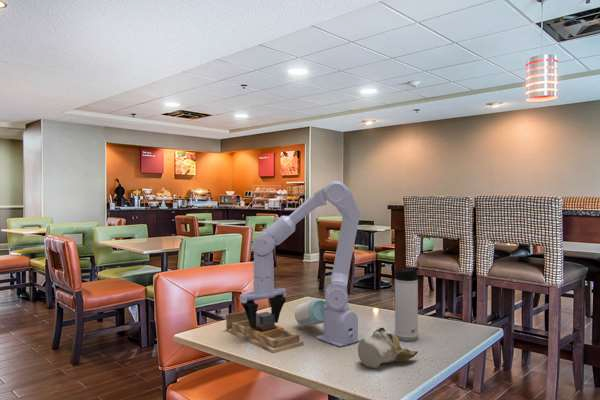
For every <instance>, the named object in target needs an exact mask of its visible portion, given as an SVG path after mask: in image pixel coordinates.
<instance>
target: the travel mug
mask: <svg viewBox="0 0 600 400" xmlns="http://www.w3.org/2000/svg"><path fill="white" fill-rule="evenodd" d="M418 271H420V267H418V266H416V267H403V268H401V267H400V268H397V269H395V271H394V275H395V276H394V334H395V335H396V336H397V337H398V339H399V341H401V342H408V341H410V342H416V341H417V340H418V339H419V333H418V332H419V319H418V318H419V315H418V314H419V313H418V312H419V308H418V307H419V305H418V304H419V297H418V296H419V295H418V294H419V292H418V291H419V287H418V286H419V285H418V284H419V283H418V281H419V280H418Z"/></svg>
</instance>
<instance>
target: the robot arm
mask: <svg viewBox="0 0 600 400" xmlns="http://www.w3.org/2000/svg"><path fill="white" fill-rule="evenodd" d="M327 202H328V203H330V204H331V205H332V206H334V207H335V208H336V209H337V211H338V212H339V213H340V215H341V217H342V218H341V219H342V220H341V223H340V224H341V225H340V229H339V236H338V239H337V240H338V241H337V246H336V252H335V257H334V263H333V267H332V270H331V271H332V272H331V275H330V279H329V282H328V284H327V285H326V287H325V290H324V291H325V292H324V293H325V295H324V301H325V302H326V304H324V323H323V334H322V335H321V334H320V335H317V337H316V338H317V339H319V340H321V341H323V342H326V343H330V344H332V345H334V346H337V347H343V346H348V345H350V344H353V343H357V342H360V340H361V338H359V319H358V316H357V313H355V312H354V311H352V310H351V308H350V304H349V295H348V281H349V273H350V268H351V264H352V258H353V253H354V247H355V241H356V237H357V233H358V232H357V231H358V226H359V223H360V215H361V214H360V213H361V212H360V210H359V208H358V205H357V202H356V200H355V198H354V196H353V193H352V191H351V190H350V189H349V188H348V186H347V185H346V184H345V183H343V182H342V181H339V180H337V181H336V180H335V181H331V182H329V183H328V184H327V185H326V187H322V188H321V189H319V190H318V191H316V192H314V193H313V194H311V196H309V197H308V198H307V199H306V200H304V202H303V203H302V204H300V205H299V206H297V208H296V209H294V211H292V213H290V214H289V215H281V216H280V217H279V216H276V217H275V218H274V219H273V221H274V222H272V223H271V224H270V225H269V226H268V227H267V228H263V229H262V230H261V232H262V234H257V235H256V236H255V237H254V239H253V241H252V243H251V248H252V250H253V291H251V292H248V293H244V294H240V295H239V303H241V306H242V307H243V309H244V310H243V311H245V312H246V314H247V317H248V321H249V325H250V327H252V328H256V313H257V314H258V307H259V304H257V303H256V301H261V300H266V299H269V303H270V313H272V314H275V324H277V323H279V318H280V315H281V311H282V309H283V306H284V305H285V303H286V300H287V299H286V296H287V289H286V288H283V287H281V288H275V275H274V274H275V273H274V272H275V270H274V269H275V267H274V266H275V264H274V263H275V260H274V250H275V247H276V246H279V245H280V244H282V243H283V242H284V241H285V240H286V239H287V238H289V236H291V235H292V234H293V233H294V232H296V225H297V224H298V223H299V222H300V221H302V220H303V219H304V218H306V216H308V215H309V214H311V212H313V211H314V210H315V209H317V208H319V207H322V206H328V203H327Z"/></svg>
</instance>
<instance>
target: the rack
mask: <svg viewBox="0 0 600 400" xmlns="http://www.w3.org/2000/svg"><path fill="white" fill-rule="evenodd" d="M256 314H258V312H257V313H256ZM225 315H226V317H225V318H226V320H225V321H226V322H225V324H226V327H225V328H226V330H225V331H226V332H228V333H230V334H231V335H234V336H236V337H239V338H241V339H243V340H245V341H247V342H249V343H251V344H254V346H255V345H256V346H257V347H260V348H262V349H264V350H265V351H269V352H270V353H272V354H275V353H278V352H282V351H285V350H286V351H287V350H290V349H292V348H296V347H299V346H304V341H303V340H301V339H300V335H299V334H296V333H294V332H292V331H289V330H287V329H284V327H281V326H278V325H276V324H275V329H273V330H269V331H264V332H259V331H257V330H255V328H252V327H250V325H249V321H248V317H247V314H246V312H245V310H242V311H236V312H231V313H228V314H227V313H226V314H225Z"/></svg>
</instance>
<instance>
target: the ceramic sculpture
mask: <svg viewBox="0 0 600 400" xmlns="http://www.w3.org/2000/svg"><path fill="white" fill-rule="evenodd" d="M358 342H359V343H358V345H357V355H358V358H359V360H360V362H361V363H362V364H363V365H364V366H365V367H366V368H369V369H377V368H380V366H381V364H387V363H392V362H395V361H400V362H406V361H409V360H410V359H413V358H414V357H415V356H416V355H417V354H418V352H419V351H416V350H415V351H414V350H410V349H407V348H402V347H401V343H400V340H399V339H398V337H397V336H396V335H395V332H390V331H388V330H385V328H384V327H379V328H376V330H374V331H373V332H372V335H371V336H370V337H369V338H364V337H362V338H360V341H358Z"/></svg>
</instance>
